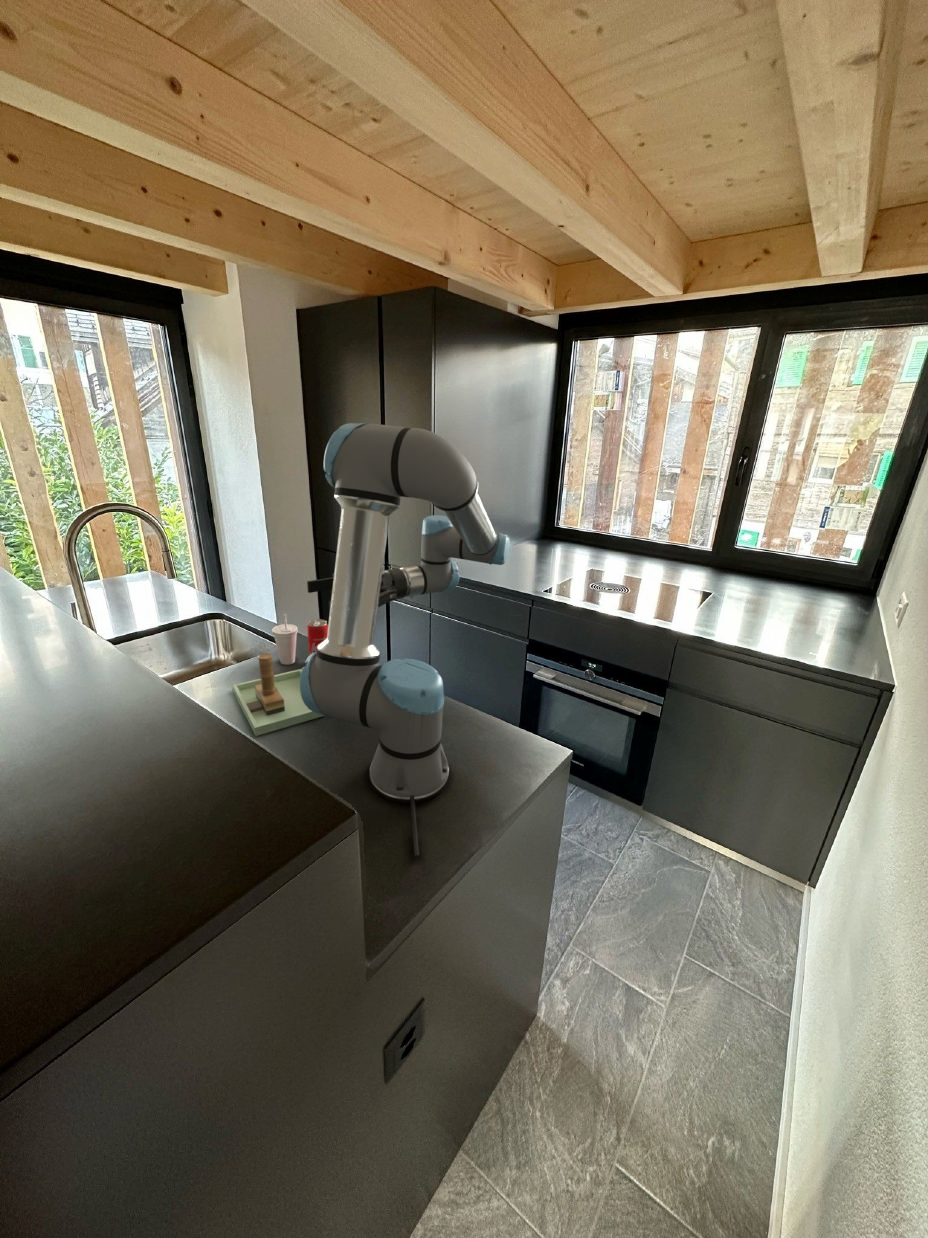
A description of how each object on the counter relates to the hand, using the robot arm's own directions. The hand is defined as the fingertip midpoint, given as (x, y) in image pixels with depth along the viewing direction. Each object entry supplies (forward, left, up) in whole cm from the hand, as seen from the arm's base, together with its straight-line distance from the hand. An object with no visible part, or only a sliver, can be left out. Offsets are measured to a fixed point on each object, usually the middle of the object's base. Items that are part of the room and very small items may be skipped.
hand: (318, 596), depth 116 cm
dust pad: (0, +16, -24) cm, 29 cm away
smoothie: (+19, +3, -25) cm, 32 cm away
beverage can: (+14, -4, -25) cm, 29 cm away
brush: (0, +13, -24) cm, 28 cm away
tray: (0, +10, -25) cm, 27 cm away
